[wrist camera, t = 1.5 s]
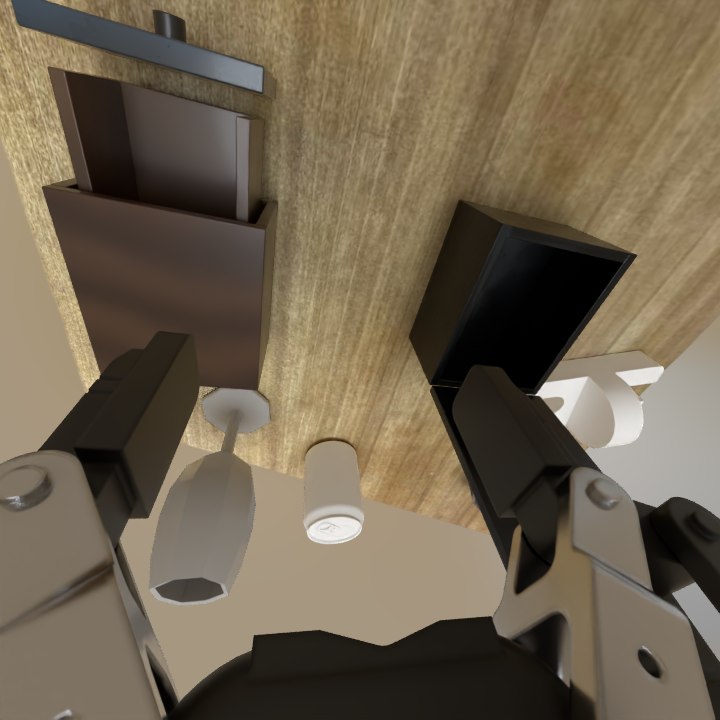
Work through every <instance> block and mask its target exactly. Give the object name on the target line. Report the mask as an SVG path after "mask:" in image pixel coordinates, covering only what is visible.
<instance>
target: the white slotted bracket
mask: <svg viewBox="0 0 720 720" xmlns="http://www.w3.org/2000/svg"><path fill="white" fill-rule="evenodd" d="M663 371H664V368H663V367H662V366H661V365H659V364H658V363H656V362H655V361H654V360H652V359H651V358H649V357H648V356H647V355H645V354H644V353H643V352H641V351H631V352H623V353H616V354H609V355H602V356H595V357H588V358H581V359H574V360H566V361H560V362H559V364H558V365H557V367H556V368H555V369H554V371H553V372H552V373H551V375H550V376H549V378H548V379H547V380H546V382H545V383H544V384H543V386H542V387H541V389H540V390H539V391H538V393H537V394H536V395H535V396H540V397H541V398H542V399H543V400H544V402H545V403H546V404H547V405H548V406H549V408H550V409H551V410H552V411H553V413H554V414H555V415H556V416H557V418H558V419H559V420H560V421H561V422H562V424H563V425H564V426H565V425H566V427H567V428H568V429H569V430H570V432H571V433H572V434H573V435H574V436H575V437H576V438H577V439H578V440H579V441H580V442H581V443H583V444H584V445H586V446H588V447H591V448H605V447H612V446H618V445H625V444H628V443H631V442H633V441H635V440H636V439H637V438H638V437H639V435H640V433H641V431H642V428H643V420H644V418H643V411H642V407H641V405H642V404H643V402H644V400H643V399H642V398H640V397H639V396H638V395H637V394H636V393H635V392H634V391H633V389H632V388H631V387H630V386H634V385H641V384H648V383H654V382H657V380H658V379H659V377H660V376H661V374H662V373H663ZM526 395H528V394H526ZM529 395H530V394H529Z"/></svg>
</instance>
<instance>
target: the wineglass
mask: <svg viewBox="0 0 720 720" xmlns="http://www.w3.org/2000/svg"><path fill="white" fill-rule="evenodd" d="M202 405H203V409H204V413H205V417H206V420H207V421H208V422H210V423H211V424H213V425H214V426H216V427H217V428H219V429H220V430H221V431H223V432H224V433H226V434H225V437H224V441H223V445H222V448H221V451H219V452H216V453H213V454H209V455H206V456H204V457H202V458H200V459H199V460H197V461H195V462H193V463H191V464H189V465H188V466H186V468H185V469H184V471H183V472H182V473H181V475H180V476H179V478H178V479H177V480H176V482H175V483H174V484H173V486H172V487H171V488H170V490H169V493H168V495H167V498H166V501H165V503H164V506H163V508H162V511H161V513H160V516H159V520H158V525H157V530H156V534H155V539H154V544H153V548H152V553H151V559H150V580H149V590H150V591H151V593H152V594H153V595H154V597H155V598H156V599H157V600H159V601H164V602H167V603H171V604H175V605H180V606H183V605H192V604H203V603H210V602H212V601H215V600H217V599H220V598H222V597H225V596H227V595H229V592H230V590H231V588H232V586H233V584H234V581H235V579H236V577H237V575H238V573H239V570H240V568H241V565H242V562H243V559H244V556H245V552H246V549H247V545H248V542H249V539H250V535H251V532H252V527H253V520H254V513H255V506H256V505H255V495H254V486H253V478H252V471H251V466H249V465H248V464H247V463H245V462H244V461H243V460H242V459H240V458H239V457H238V456H236V455H235V454H234V453H233V451H234V446H235V442H236V438H237V434H238V433H251V432H253V431H255V430H257V429H259V428H261V427H262V426H264V425H266V424H268V423H270V421H271V419H270V406H269V401H268V400H267V399H266V398H264V397H263V396H262V395H261V394H260V393H259V392H257V391H254V390H242V389H230V388H218V389H217V390H215V391H214V392H212V393H210V394H209V395H207V396H205V397H204V398H202Z"/></svg>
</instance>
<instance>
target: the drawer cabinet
mask: <svg viewBox="0 0 720 720" xmlns="http://www.w3.org/2000/svg"><path fill="white" fill-rule="evenodd" d="M42 190H43V193H44V196H45V199H46V203H47V206H48V209H49V212H50V215H51V218H52V221H53V225H54V228H55V231H56V234H57V237H58V240H59V244H60V247H61V250H62V253H63V256H64V259H65V263H66V266H67V269H68V272H69V275H70V278H71V282H72V285H73V288H74V291H75V294H76V297H77V301H78V304H79V307H80V310H81V313H82V316H83V320H84V323H85V326H86V329H87V332H88V335H89V339H90V342H91V345H92V348H93V351H94V354H95V358H96V361H97V364H98V367H99V370H100V373H101V374H102V373H103V371H104V370H105V369H106V368H107V367H108V365H109V364H110V363H111V362H112V361H113V360H114V359H116V358H118V357H119V356H121V355H123V354H124V353H126V352H128V351H129V350H131V349H133V348H134V349H145V348H146V346H147V345H148V343H149V342H150V341H151V339H152V338H153V337H154V335H155V334H156V333H157V332H158V331H166V332H175V333H185V334H192V335H193V336H194V339H195V345H196V354H197V362H198V370H199V379H200V386H206V387H218V388H230V389H242V390H254V391H258V388H259V383H260V378H261V373H262V368H263V363H264V358H265V354H266V349H267V344H268V339H269V327H270V313H271V298H272V283H273V268H274V254H275V239H276V224H277V209H278V202H277V201H273V200H269V199H264V198H261V215H260V217H259V219H258V221H257V223H256V224H251V223H246V222H241V221H236V220H230V219H225V218H220V217H215V216H210V215H205V214H200V213H194V212H189V211H184V210H179V209H174V208H169V207H164V206H158V205H153V204H148V203H143V202H138V201H133V200H127V199H122V198H117V197H112V196H107V195H102V194H97V193H91V192H86V191H81V190H79V188H78V184H77V180H76V178H73V179H69V180H65V181H61V182H57V183H53V184H51V185H46V186H42Z"/></svg>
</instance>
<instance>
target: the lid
mask: <svg viewBox="0 0 720 720" xmlns="http://www.w3.org/2000/svg"><path fill="white" fill-rule="evenodd" d="M459 390H460V388H454V387H444V386H432V387H431V389H430V393H431V395H432V398H433V400H434V402H435V405H436V407H437V409H438V412H439V414H440V416H441V419H442V421H443V423H444V426H445V428H446V430H447V433H448V435H449V438H450V440H451V442H452V445H453V447H454V449H455V452H456V454H457V456H458V459H459V461H460V463H461V466H462V468H463V470H464V473H465V475H466V478H467V480H468V482H469V485H470V487H471V489H472V492H473V494H474V496H475V499H476V501H477V503H478V506H479V508H480V510H481V513H482V515H483V518H484V520H485V522H486V525H487V527H488V529H489V532H490V534H491V536H492V539H493V541H494V543H495V546H496V548H497V550H498V553H499V555H500V558H501V560H502V562H503V564H504V567H505V569H506V571H507V569H508V563H509V557H510V551H511V545H512V539H513V533H514V530H515V528H516V527H517V526H518V525H519V522H518V520H517V518H516V517H506V518H498V516H497V514H496V511H495V509H494V507H493V505H492V503H491V500H490V498H489V496H488V494H487V492H486V489H485V487H484V485H483V483H482V480H481V478H480V476H479V474H478V472H477V469H476V467H475V465H474V463H473V460H472V458H471V456H470V454H469V452H468V449H467V447H466V445H465V443H464V441H463V438H462V436H461V434H460V432H459V429H458V427H457V425H456V423H455V421H454V418H453V412H452V408H453V402H454V399H455V397H456V395H457V394H458V392H459ZM527 396H528V397H529V398H530V399H531V401H532V402H533V403H534V405H535V406H536V407H537V409H538V412H540V413H541V414H542V415H543V417H544V418H545V419H546V423H547V424H549V425H550V426H551V427H552V429H553V430H554V431H555V433H556V434H557V435H558V437H559V438H560V439H561V441H562V442H563V443H564V445H565V446H566V447H567V449H568V450H569V451H570V453H571V454H572V455H573V457H574V458H575V459H576V461H577V462H578V463H579V465H580V466H581V467H587V468H592V469H594V470H597V471H599V472H601V470H600V469H599V468H598V467H597V465H596V464H595V463H594V462H593V461H592V459H591V458H590V457H589V456H588V455H587V453H586V452H585V451H584V449H583V448H582V447H581V446H580V445H579V443H578V442H577V441H576V440H575V438H574V437H573V436H572V435H571V433H570V432H569V431H568V430H567V429H566V427H565V426H564V425H563V424H562V422H561V421H560V420H559V419H558V418H557V416H556V415H555V414H554V413H553V411H552V410H551V409H550V408H549V406H548V405H547V404H546V403H545V402H544V400H543V399H542V398H541V397H540V396H535V395H527ZM601 473H602V472H601Z"/></svg>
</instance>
